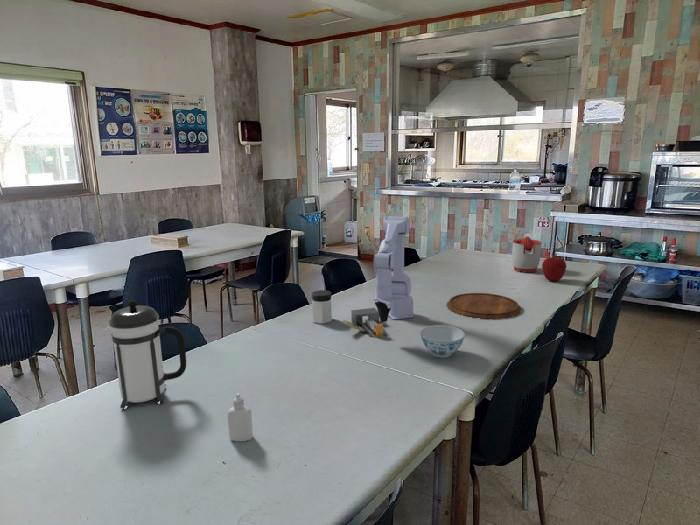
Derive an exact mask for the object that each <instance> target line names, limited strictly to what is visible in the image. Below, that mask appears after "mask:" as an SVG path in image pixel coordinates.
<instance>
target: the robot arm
mask: <svg viewBox="0 0 700 525" xmlns="http://www.w3.org/2000/svg"><path fill="white" fill-rule="evenodd" d="M382 227H383V228H382V229H383V231H384V233H385V238H384V239H382V240H381V242H380V245H379V249H378V252H377V253H375V254H374V255H373V256H374V257H373V268H374V274H375V291H373V292H374V293H373V294H374V295H373V296H374V297H372V301H374V304H375V306H376V310H377V311H378V312H379V322H381V323H383V322H385V323H386V322H388V319H389V318H391V319H392V320H402V319H409V318H414V299H413V296H412V295H411V292H412V284H411V283H412V282H411V277H410V276H409V275H407V274H406V273H405V237H406V236H409V235H410V218H409V216H393V215H392V216H391V215H390V216H387V215H386V216H384V217H383V220H382Z"/></svg>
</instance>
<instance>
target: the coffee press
mask: <svg viewBox="0 0 700 525" xmlns="http://www.w3.org/2000/svg"><path fill="white" fill-rule="evenodd" d="M159 318H160V316H159V313H158V312H157V311H156V310H155V308H153V307H151V306H148V305H138V303H137V301H136V300H134V299H132V300H130V301H128V302H127V306H126V307H122V308H120V309H118V310H116V311H115V312H114V313H113V314H111V317H110V319H109V320H108V325H107V326H106V327H105V330H104V331H105V332H108V331H109V332H111V333H110V334H111V341H112V342H113V348H114V354H115V356H114V357H115V363H116V370H117V378H118V379H117V380H118V384H119V392H120V396H121V398H122V402H121V404H120V407H119V408H120V409H121V408H123V409H122V410H124V407H125V405H126V406H129V407H130V405H131V404H133V403H143V402H148V401H151V400H154V401H155V402H156V403H157V402H159V401H160V403H161V404H163V403H164V402H165V399H164V397H163V396H162V394H163V392H164V391H165V388H166V387H167V386H166V383H165V381H170V380H174V379H177V378H179V377H181V376H182V375H184V373H185V371H186V368H187V354H186V353H187V352H186V344H185V339H184V335H183V334H182V331H180V330H179V329H178V328H177V327H174V326H164V327H160V325H159ZM160 334H172V335H174V336H175V338H176V339H177V345H178V356H179V363H180V364H179V368H178V369H177V370H176V371H174V372H169V373H168V372H167V373H165V371H164V364H163V357H162V346H161V338H160ZM165 386H166V387H165ZM162 402H163V403H162Z"/></svg>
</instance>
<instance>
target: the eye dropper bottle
mask: <svg viewBox="0 0 700 525" xmlns="http://www.w3.org/2000/svg"><path fill="white" fill-rule="evenodd" d="M244 400H245V399H244V397H241V395H240V393H236V396H235V398H233V406H232V407H231V408H229V410H228V411H227V423H228V425H227V426H228V436H229V438H228V439H229V440H230V441H233V440H234V441H233V442H248V441H251V440H252V438H253V436H254V434H253V420H252V410H251V409H250V408H249V407H247V406H245V402H244ZM247 440H248V441H247Z"/></svg>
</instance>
